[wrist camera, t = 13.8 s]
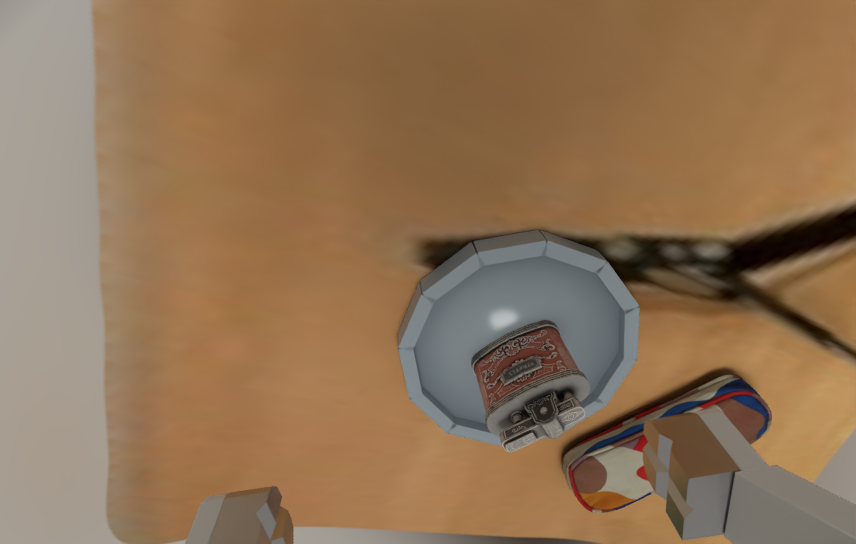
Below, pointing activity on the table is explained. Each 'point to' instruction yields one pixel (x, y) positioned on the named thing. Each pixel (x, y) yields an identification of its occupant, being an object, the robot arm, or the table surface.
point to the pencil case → (623, 444)
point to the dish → (513, 322)
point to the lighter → (529, 385)
